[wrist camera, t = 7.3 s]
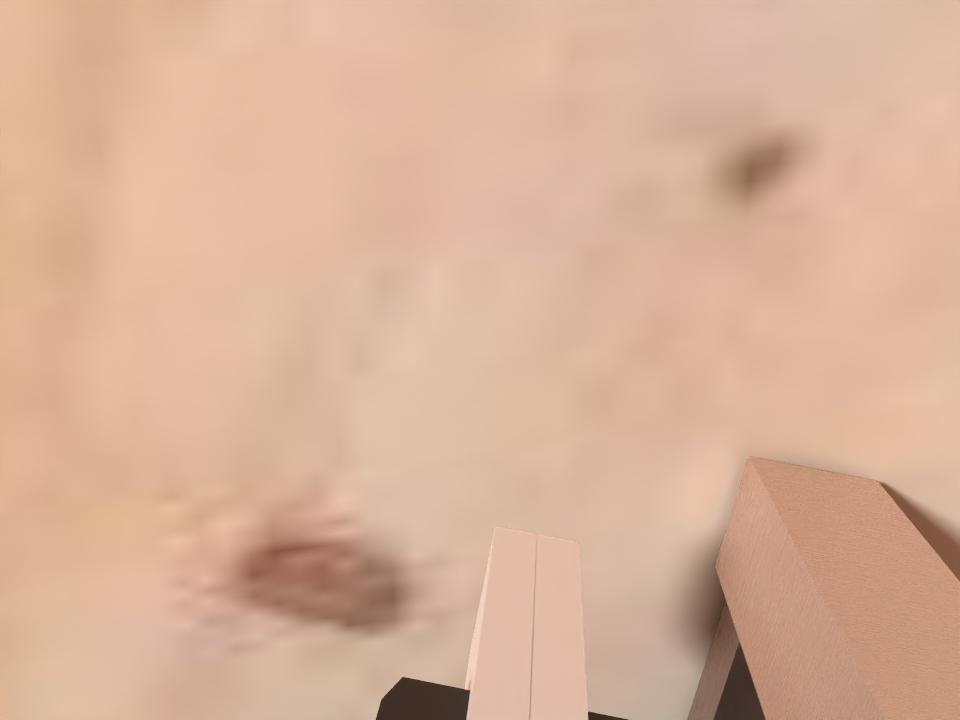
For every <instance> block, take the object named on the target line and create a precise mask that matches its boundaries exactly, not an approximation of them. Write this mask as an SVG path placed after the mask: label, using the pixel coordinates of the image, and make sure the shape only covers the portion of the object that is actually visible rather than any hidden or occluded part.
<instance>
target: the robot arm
mask: <svg viewBox="0 0 960 720" xmlns="http://www.w3.org/2000/svg"><path fill="white" fill-rule="evenodd" d="M376 720H628V719H622V718H617V717H612V716H607V715H602V714H597V713H592V712H588V707H587V688H586V668H585V649H584V630H583V611H582V592H581V573H580V554H579V542H576V541H571V540H566V539H561V538H556V537H551V536H546V535H540V534H535V533H530V532H525V531H520V530H515V529H510V528H504V527H499V526H495V529H494V534H493V539H492V544H491V549H490V555H489V560H488V565H487V570H486V575H485V580H484V585H483V590H482V595H481V600H480V605H479V610H478V615H477V620H476V625H475V630H474V635H473V640H472V645H471V650H470V656H469V662H468V669H467V676H466V683H465V689H460V688H455V687H450V686H445V685H440V684H435V683H430V682H425V681H420V680H415V679H410V678H405V677H402V678H401V679H400V680H399V682H398V683H397V684H396V685H395V686H394V687H393V688H392V689H391V690H390V691H389V692H388V693H387V694H386V695H385V696H384V697H383V699H382V700H381V703H380V707H379V710H378V714H377V717H376Z"/></svg>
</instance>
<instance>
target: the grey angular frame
mask: <svg viewBox="0 0 960 720" xmlns="http://www.w3.org/2000/svg"><path fill="white" fill-rule="evenodd" d="M715 568H716V571H717V574H718V577H719V580H720V583H721V586H722V589H723V592H724V595H725V598H726V601H725V604H724V607H723V610H722V613H721V616H720V619H719V622H718V626H717V629H716V632H715V635H714V638H713V641H712V644H711V647H710V651H709V654H708V657H707V660H706V663H705V666H704V669H703V672H702V676H701V679H700V682H699V685H698V688H697V691H696V694H695V697H694V700H693V704H692V707H691V710H690V713H689V716H688V719H687V720H960V581H959V580H958V579H957V578H956V576H955V575H954V574H953V573H952V571H951V570H950V569H949V568H948V567H947V565H946V564H945V563H944V562H943V560H942V559H941V558H940V557H939V555H938V554H937V553H936V552H935V551H934V549H933V548H932V547H931V546H930V544H929V543H928V542H927V541H926V539H925V538H924V537H923V536H922V535H921V533H920V532H919V531H918V530H917V528H916V527H915V526H914V525H913V524H912V522H911V521H910V520H909V519H908V517H907V516H906V515H905V514H904V512H903V511H902V510H901V509H900V508H899V506H898V505H897V504H896V503H895V501H894V500H893V499H892V498H891V497H890V495H889V494H888V493H887V492H886V490H885V489H884V488H883V487H882V485H881V484H880V483H879V482H878V481H874V480H869V479H864V478H859V477H854V476H849V475H844V474H838V473H833V472H828V471H823V470H818V469H813V468H807V467H802V466H797V465H792V464H787V463H782V462H776V461H771V460H766V459H761V458H756V457H751V456H749V458H748V461H747V464H746V467H745V471H744V474H743V477H742V480H741V484H740V487H739V490H738V493H737V496H736V500H735V503H734V506H733V509H732V513H731V516H730V519H729V522H728V525H727V529H726V532H725V535H724V538H723V542H722V545H721V548H720V551H719V554H718V558H717V561H716V564H715Z"/></svg>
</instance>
